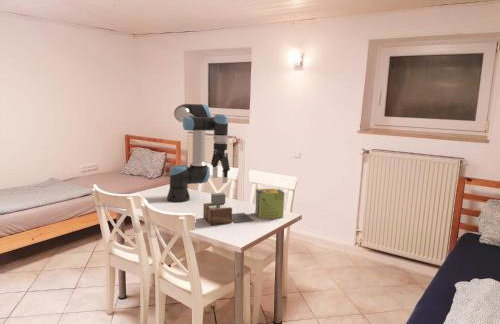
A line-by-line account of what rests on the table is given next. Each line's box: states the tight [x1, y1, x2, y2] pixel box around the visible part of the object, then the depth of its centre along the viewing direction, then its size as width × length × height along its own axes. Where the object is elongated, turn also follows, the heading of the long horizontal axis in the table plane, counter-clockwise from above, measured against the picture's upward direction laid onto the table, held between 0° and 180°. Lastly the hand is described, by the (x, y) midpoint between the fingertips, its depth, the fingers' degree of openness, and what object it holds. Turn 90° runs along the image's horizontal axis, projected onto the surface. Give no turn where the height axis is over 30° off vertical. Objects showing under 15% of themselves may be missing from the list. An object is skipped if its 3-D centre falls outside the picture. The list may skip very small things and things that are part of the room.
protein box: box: [254, 188, 285, 219], centre depth 213 cm, size 10×15×16 cm
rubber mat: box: [232, 212, 255, 224], centre depth 208 cm, size 15×12×1 cm
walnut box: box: [202, 202, 233, 227], centre depth 201 cm, size 14×12×9 cm
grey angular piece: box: [209, 192, 228, 209], centre depth 200 cm, size 11×10×9 cm
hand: (219, 180), depth 198 cm, fingers open, 13 cm apart
